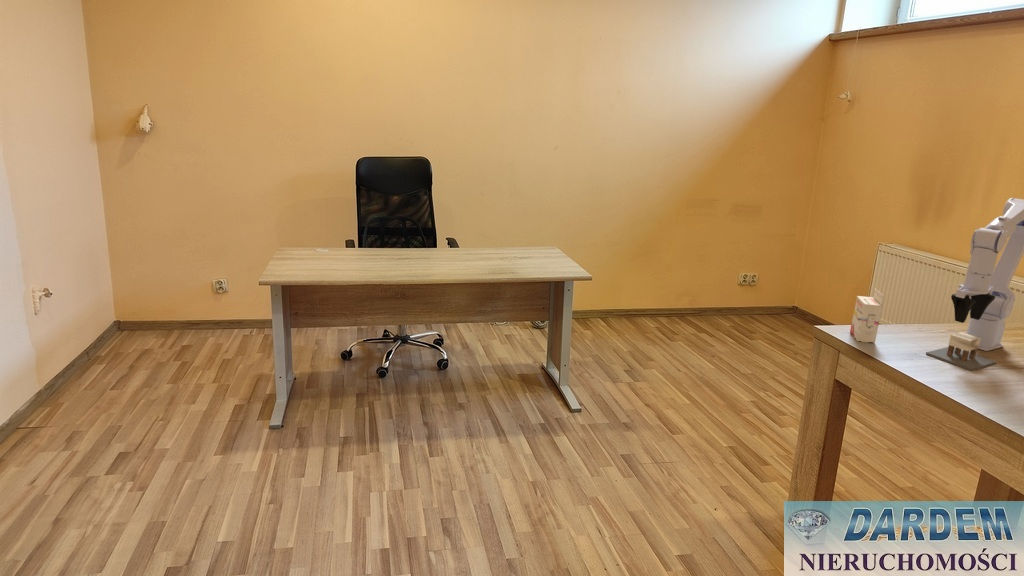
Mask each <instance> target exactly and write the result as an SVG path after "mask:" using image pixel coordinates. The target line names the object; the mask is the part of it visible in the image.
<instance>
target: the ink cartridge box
mask: <svg viewBox="0 0 1024 576" xmlns="http://www.w3.org/2000/svg"><path fill="white" fill-rule="evenodd" d="M883 303H884V294H883V293H881V291H880V290H878V289H877V288H876V287H875V288H874V291H873V296H864V295H862V296H861V295H856V299H855V304H854V305H855V306H854V310H853V315H852V320H851V324H850V330H849V332H850V334H851V335H852V337H853V338H854V339H855V338H856V339H855V340H856V341H857V342H858V341H861V343H868V342H873V343H872V344H875V343H876V339H877V335H878V329H879V325H880V320H881V315H882V312H883Z"/></svg>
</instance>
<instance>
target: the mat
mask: <svg viewBox="0 0 1024 576" xmlns="http://www.w3.org/2000/svg"><path fill="white" fill-rule="evenodd" d="M948 347H949V346H945V347H943V348H942V347H941V348H938V349H934V350H931V351H930V350H929V351H927V352H926V353H925V355H926V356H929V357H932V358H934V359H937V360H941V361H943V362H946V363H949V364H951V365H954V366H957V367H960V368H962V369H965V370H968V371H975V370H979V369H981V368H986V367H989V366H992V364H993V365H996V364H997V361H996V360H993V359H990V358H987V357H984V356H982V355H978V354H976V355H975V359H971V358H969V355H970V351H969V354H968V358H967V361H963V360H961V358H962V354H963V350H962V349H961V352H960V354H956V353H955V349H956V347H954V351H953V355H952V356H948V355H947V351H948ZM985 366H986V367H985ZM978 368H979V369H978Z"/></svg>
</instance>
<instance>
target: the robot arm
mask: <svg viewBox="0 0 1024 576" xmlns="http://www.w3.org/2000/svg"><path fill="white" fill-rule="evenodd" d="M1002 250H1003V251H1002ZM1000 252H1001V255H1000V256H999V253H1000ZM969 254H970V259H969V263H968V266H967V268H966V274H965V277H964V282H963V284H958V286H957V287H958V288H959V289H956V293H953V294H951V296H950V297H951V299H950V300H951V301H952V303H953V309H954V321H955V322H959V323H962V324H964V323H965V322H966V320H967V317H968V315H969V316H970V318H969V321H968V325H967V330H966V333H965V334H969V335H972V336H975V337H978V338H981V339H980V343H979V346H978V349H977V350H981V351H985V352H988V351H992V350H996V349H999V348H1003V347H1005V346H1004V344H1001V342H1002V339H1003V335H1004V332H1005V328H1006V322H1005V320H1006V319H1008V318H1009V316H1010V315H1011V313H1012V311H1013V307H1014V304H1015V301H1016V296H1015V293H1014V292H1013V291H1012V290H1011V289H1010V287H1009V286H1010V284H1011V282H1012V280H1013V278H1014V276H1015V273H1016V271H1017V269H1018V267H1019V265H1020V262H1021V260H1022V258H1023V257H1024V198H1023V199H1021V198H1015V197H1011V198H1008V199H1007V200H1006V202H1005V204H1004V206H1003V211H1002V215H999V216H998V217H996V218H994V219H993V220H991V222H990V223H988V224H987V225H986V226H985V227H980V228H977V229H976V230H974V232H973V234H972V237H971V239H970V250H969ZM998 256H999V259H998ZM997 260H998V261H997Z"/></svg>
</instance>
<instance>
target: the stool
mask: <svg viewBox="0 0 1024 576" xmlns="http://www.w3.org/2000/svg"><path fill="white" fill-rule="evenodd" d="M980 339H981V338H978V337H975V336H972V335H969V334H966V333H965V332H961V331H960V332H957V333H952V334H951V335H950V337H949V342H948V346H947V347H948V351H947V355H948V356H952V355H953V351H954V347H955V348H956V349H955V353H956V354H960V352H961V350H963V354H962V358H961V360H963V361H967V358H968V354H969V352H970V355H969V358H971V359H975V355H977V352H978V350H979V349H978V346H979V343H980Z"/></svg>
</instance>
